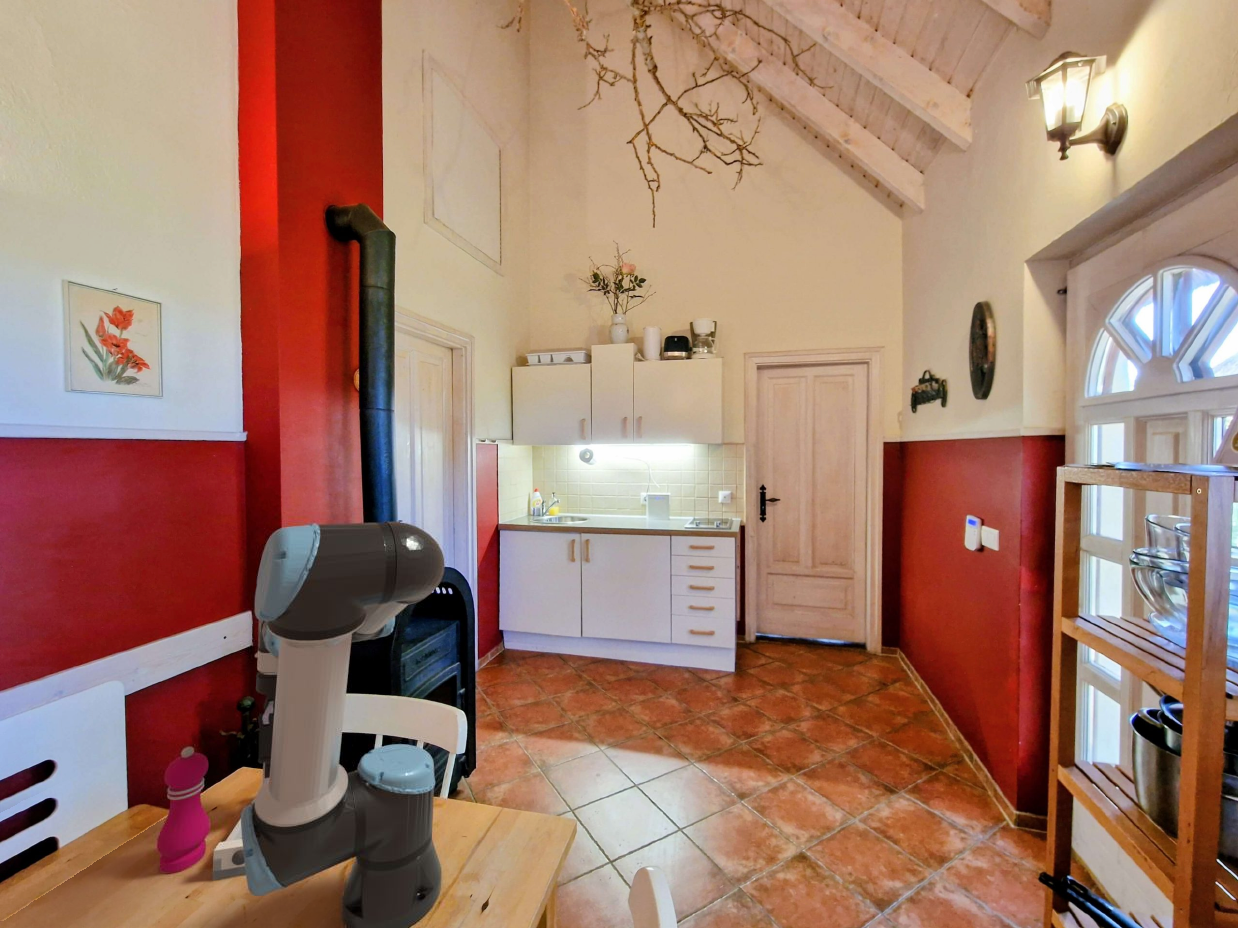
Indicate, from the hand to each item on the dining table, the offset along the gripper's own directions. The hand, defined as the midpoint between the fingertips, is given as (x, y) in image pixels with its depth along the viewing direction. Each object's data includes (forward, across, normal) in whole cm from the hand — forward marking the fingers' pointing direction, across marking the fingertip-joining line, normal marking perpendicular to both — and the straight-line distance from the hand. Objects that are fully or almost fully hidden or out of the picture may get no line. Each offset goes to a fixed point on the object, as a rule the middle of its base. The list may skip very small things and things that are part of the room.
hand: (274, 783), depth 101 cm
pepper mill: (+7, +9, -11) cm, 16 cm away
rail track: (+7, +4, 0) cm, 8 cm away
